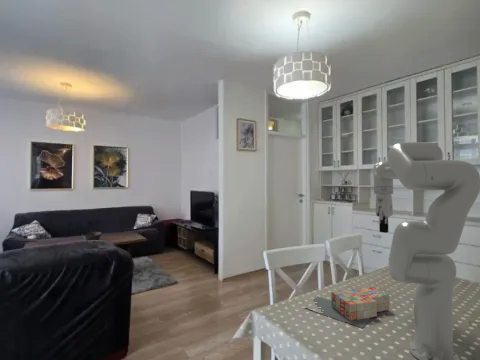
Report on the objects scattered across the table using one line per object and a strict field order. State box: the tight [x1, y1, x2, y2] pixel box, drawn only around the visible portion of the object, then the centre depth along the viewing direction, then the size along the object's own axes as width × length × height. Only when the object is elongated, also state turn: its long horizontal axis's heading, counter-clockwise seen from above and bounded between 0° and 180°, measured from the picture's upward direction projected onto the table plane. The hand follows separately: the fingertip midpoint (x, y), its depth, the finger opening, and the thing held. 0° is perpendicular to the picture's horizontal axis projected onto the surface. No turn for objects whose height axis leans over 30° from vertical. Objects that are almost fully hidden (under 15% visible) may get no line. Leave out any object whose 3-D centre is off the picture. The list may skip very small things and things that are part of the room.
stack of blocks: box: [330, 287, 390, 321], centre depth 109 cm, size 21×6×12 cm
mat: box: [312, 296, 372, 329], centre depth 109 cm, size 14×24×1 cm, turn 49°
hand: (383, 232), depth 117 cm, fingers closed
